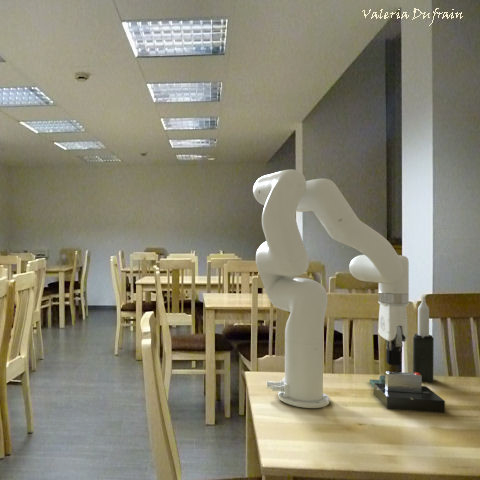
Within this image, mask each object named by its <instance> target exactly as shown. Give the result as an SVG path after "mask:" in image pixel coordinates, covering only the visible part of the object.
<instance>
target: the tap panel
mask: <svg viewBox="0 0 480 480" xmlns="http://www.w3.org/2000/svg"><path fill="white" fill-rule="evenodd" d="M373 395H374V396H375V397H376V398H377V399H378V401H379V402H380V403H381V404H382V405H383V407H385V408H386V410H394V411H395V410H396V411H409V412H411V411H412V412H423V413H439V414H445V413H446V407H445V406H446V400H444V399H443V398H442V397H440V395H438V394H437V393H435V392H434V391H433V390H432V389H430V388H429V387H428V386H426V385H422V393H409V392H394V391H387V390H386V389H385V384H380V383H374V387H373Z"/></svg>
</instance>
